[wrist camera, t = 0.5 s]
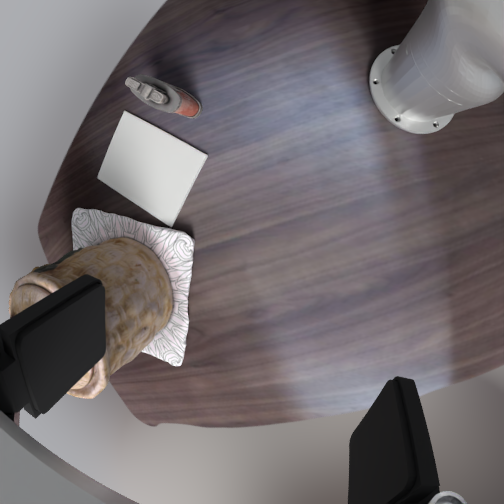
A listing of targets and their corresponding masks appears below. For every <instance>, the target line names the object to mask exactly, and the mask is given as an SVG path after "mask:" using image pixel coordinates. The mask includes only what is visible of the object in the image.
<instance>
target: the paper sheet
mask: <svg viewBox="0 0 504 504" xmlns="http://www.w3.org/2000/svg"><path fill="white" fill-rule="evenodd" d="M207 157H208V155H206V154H205V153H203V152H201V151H199V150H198V149H196V148H194V147H192V146H190V145H189V144H187V143H185V142H183V141H181V140H180V139H178V138H176V137H174V136H172V135H170V134H169V133H167V132H165V131H163V130H161V129H159V128H157V127H155V126H154V125H152V124H150V123H148V122H146V121H144V120H142V119H140V118H138V117H136V116H134V115H132V114H130V113H129V112H127V111H124V113H123V115H122V117H121V120H120V122H119V124H118V127H117V129H116V131H115V133H114V136H113V138H112V141H111V143H110V146H109V148H108V151H107V153H106V156H105V158H104V161H103V163H102V166H101V169H100V171H99V174H98V177H97V178H98V179H99V180H101V181H102V182H104V183H105V184H107V185H108V186H110V187H111V188H113V189H114V190H116V191H117V192H119V193H120V194H122V195H123V196H125V197H126V198H127V199H129V200H130V201H132V202H133V203H135V204H136V205H138V206H139V207H141V208H142V209H144V210H145V211H147V212H149V213H150V214H152V215H153V216H155V217H156V218H158V219H159V220H161V221H162V222H164V223H165V224H167V225H168V226H170V227H172V226H173V224H174V222H175V220H176V218H177V216H178V214H179V212H180V210H181V208H182V206H183V204H184V202H185V200H186V198H187V196H188V193H189V192H190V190H191V188H192V186H193V184H194V182H195V180H196V178H197V176H198V174H199V172H200V170H201V168H202V166H203V164H204V162H205V160H206V159H207Z"/></svg>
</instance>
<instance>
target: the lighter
mask: <svg viewBox="0 0 504 504" xmlns="http://www.w3.org/2000/svg"><path fill="white" fill-rule="evenodd" d="M125 84H126V85H127V86H128V87H130V88H131V91H132V92H133V93H134V94H135V95H136V96H137V97H138V98H139V99H140V100H142V101H143V102H145V103H146V104H148V105H150V106H152V107H154V108H156V109H158V110H161V111H164V112H168V113H178V114H180V115H183V116H185V117H188V118H193V119H194V118H197V117H198V116H199V115H200V114H201V112H202V108H203V107H202V104H201V103H200V102H199V101H198V100H197V99H196V98H195V97H194V96H192V95H191V94H189V93H188V92H186V91H184V90H182V89H180V88H178V87H176V86H173V85H170V84H168V83H165V82H163V81H160V80H158V79H155V78H153V77H150V76H146V75H142V74H141V75H137V76H136V77H135V78H133V77H128V78H127V80H126V82H125Z"/></svg>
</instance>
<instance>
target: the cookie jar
mask: <svg viewBox="0 0 504 504" xmlns="http://www.w3.org/2000/svg"><path fill="white" fill-rule="evenodd" d="M71 222H72V234H73V236H72V239H73V250H72V251H70V252H68V253H67V254H66V255H64V256H63V257H62V258H61V259H59V260H58V261H57V262H55V263H53V264H46V265H44V266H41V267H35V268H34V269H33V270H32V272H31V273H29V274H27V275H26V276H24V277H22V278H21V279H19V280H18V281H16V283H15V285H14V288H13V290H12V292H11V294H10V300H9V305H10V307H9V313H10V318H12V317H13V316H15V315H16V314H18V313H20V312H21V311H23V310H25V309H26V308H28V307H30V306H31V305H33V304H34V303H36V302H38V301H39V300H41V299H43V298H45V297H46V296H48V295H50V294H51V293H53V292H55V291H56V290H58V289H60V288H62V287H63V286H65V285H67V284H69V283H70V282H72V281H74V280H76V279H77V278H79V277H81V276H83V275H85V274H88V275H91V276H93V277H95V278H97V279H100V280H101V281H102V284H103V286H104V287H105V328H106V352H105V355H104V357H103V358H102V359H101V360H100V361H99V362H98V363H97V364H96V365H95V366H94V367H92V368H91V369H90V370H89V371H88V372H87V373H86V374H85V375H84V376H83V377H82V378H81V379H80V380H79V381H78V382H77V383H76V384H75V385H74V386H73V387H72V388H71V389H70V390H69V391H68V392H67V393H68V394H70V395H72V396H75V397H81V398H86V399H91V398H94V397H96V396H97V395H98V394H99V393H100V392H101V391H102V390H103V389H104V388H105V387H106V385H107V384H108V382H109V377H110V375H112V374H113V373H114V372H115V371H116V370H118V369H119V368H120V367H121V366H123V365H124V364H126V363H129V362H130V361H132V360H133V359H134V358H135V357H136V356H137V355H138V354H139V353H140V352H141V351H142V352H145V353H148V354H151V355H153V356H155V357H157V358H159V359H162V360H163V361H166V362H169V363H170V364H171V365H173V366H180V365H181V364H182V361H183V358H184V351H185V347H186V345H187V344H186V335H187V332H188V323H189V317H188V299H187V298H188V294H189V286H190V281H191V276H192V264H193V252H194V243H195V240H194V239H193V238H191V237H190V236H189V235H188V234H186V233H185V232H183V231H177V230H174V229H171V228H164V227H158V226H154V225H150V224H146V223H142V222H138V221H136V220H133V219H131V218H129V217H125V216H120V215H116V214H114V213H105V212H103V211H102V210H96V209H82V208H77V209H76V210H75V211H74V212H73V217H72V220H71Z"/></svg>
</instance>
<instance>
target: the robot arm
mask: <svg viewBox="0 0 504 504" xmlns="http://www.w3.org/2000/svg"><path fill="white" fill-rule="evenodd" d="M391 52H393V53H394V54H392V53H391ZM373 82H376V83H377V84H376V85H375V84H374V83H373ZM369 86H370V92H371V95H372V98H373V100H374V103H375V105H376V106H377V108H378V109H379V111H380V112H381V114H382V115H383V116H384V117H385V118H386V119H387V120H388V121H389V122H391V123H392V124H393V125H395V126H396V127H398V128H400V129H402V130H404V131H407V132H410V133H416V134H428V133H432V132H435V131H438V130H440V129H442V128H443V127H444V126H446V125H447V124H448V123H449V122H450V120H451V119H452V117H453V115H454V113H457V112H460V111H463V110H467V109H470V108H474V107H477V106H480V105H483V104H487V103H489V102H492V101H494V100H495V99H497V98H498V97H499V96H500V95H501V94H502V93H503V92H504V0H428V2H427V4H426V6H425V8H424V10H423V11H422V13H421V15H420V16H419V18H418V19H417V21H416V22H415V24H414V25H413V27H412V28H411V30H410V31H409V32H408V34H407V35H406V37H405V38H404V40H403V41H402V43H401V44H400V45H397V46H392V47H390V48H388V49H386V50H384V51H383V52H382V53H381V54H379V56H378V57H377V58H376V59H375V61H374V63H373V65H372V68H371V71H370V76H369ZM395 118H397V119H398V121H395ZM433 124H435V127H434V126H433ZM105 352H106V328H105V287H104V286H103V284H102V281H101V280H100V279H97V278H95V277H93V276H91V275H88V274H85V275H83V276H81V277H79V278H77V279H76V280H74V281H72V282H70V283H69V284H67V285H65V286H63V287H62V288H60V289H58V290H56V291H55V292H53V293H51V294H50V295H48V296H46V297H45V298H43V299H41V300H39V301H38V302H36V303H34V304H33V305H31V306H30V307H28V308H26V309H25V310H23V311H21V312H20V313H18V314H16V315H15V316H13V317H12V318H10V319H9V320H7V321H5V322H4V323H2V324H1V325H0V504H139V503H137V502H135V501H133V500H131V499H129V498H127V497H125V496H123V495H121V494H119V493H117V492H115V491H113V490H111V489H110V488H108V487H106V486H104V485H102V484H101V483H99V482H97V481H95V480H94V479H92V478H90V477H89V476H87V475H85V474H84V473H82V472H80V471H79V470H77V469H76V468H74V467H73V466H71V465H70V464H68V463H67V462H65V461H64V460H62V459H61V458H59V457H58V456H57V455H55V454H53V453H52V452H51V451H50V450H48V449H47V448H45V447H44V446H43V445H41V444H40V443H39V442H37V441H36V440H35V439H34V438H32V437H31V436H30V435H29V434H27V433H26V432H25V431H24V430H23V429H21V428H20V427H19V415H20V410H21V409H22V408H23V407H24V409H25V410H26V411H27V412H28V413H29V414H31V415H32V416H33V417H34V418H37V417H38V416H39V415H40V414H41V413H42V414H45V413H46V412H48V411H49V410H50V409H51V408H52V407H53V405H55V403H57V402H58V401H59V400H60V399H61V398H62V397H63V396H64V395H65V394H66V393H67V392H68V391H69V390H70V389H71V388H72V387H73V386H74V385H75V384H76V383H77V382H78V381H79V380H80V379H81V378H82V377H83V376H84V375H85V374H86V373H87V372H88V371H89V370H90V369H91V368H92V367H94V366H95V365H96V364H97V363H98V362H99V361H100V360H101V359H102V358H103V357H104V355H105ZM349 449H350V450H349V451H350V452H349V490H348V491H349V492H348V504H467V503H466V501H465V500H464V499H463V498H462V497H461V496H460V495H459V494H457V493H455V492H450V491H444V492H440V491H439V486H440V484H439V479H438V474H437V468H436V464H435V459H434V455H433V450H432V445H431V441H430V437H429V433H428V429H427V425H426V421H425V417H424V413H423V409H422V406H421V402H420V399H419V395H418V392H417V388H416V385H415V382H414V380H412V379H408V378H403V377H398V376H397V377H395V378H394V379H393V380H389V381H388V382H387V383H386V384H385V386H384V388H383V389H382V391H381V392H380V394H379V396H378V397H377V399H376V400H375V402H374V403H373V405H372V406H371V408H370V409H369V411H368V412H367V414H366V415H365V417H364V418H363V419H362V421H361V422H360V424H359V425H358V426H357V428H356V429H355V431H354V432H353V434H352V436H351V438H350V444H349Z"/></svg>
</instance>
